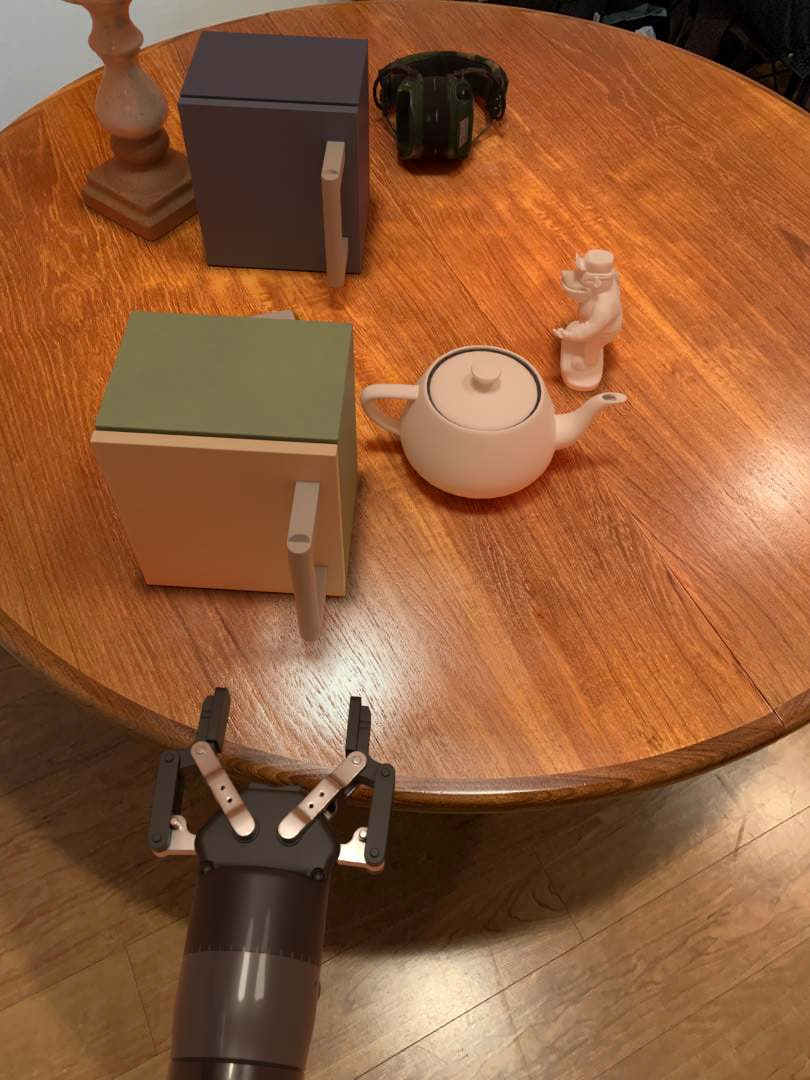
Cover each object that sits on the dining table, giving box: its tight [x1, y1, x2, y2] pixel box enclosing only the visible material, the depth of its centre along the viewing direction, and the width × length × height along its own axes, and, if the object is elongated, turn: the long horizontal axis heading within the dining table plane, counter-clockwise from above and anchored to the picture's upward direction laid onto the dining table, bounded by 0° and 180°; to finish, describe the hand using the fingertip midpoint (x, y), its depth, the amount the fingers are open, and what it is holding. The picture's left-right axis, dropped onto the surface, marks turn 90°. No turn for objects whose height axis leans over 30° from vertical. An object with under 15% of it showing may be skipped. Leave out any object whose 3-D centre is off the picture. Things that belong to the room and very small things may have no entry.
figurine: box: [552, 248, 624, 392], centre depth 85 cm, size 9×7×12 cm
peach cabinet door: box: [89, 429, 347, 643], centre depth 66 cm, size 7×16×18 cm, turn 87°
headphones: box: [372, 50, 510, 161], centre depth 108 cm, size 13×13×20 cm
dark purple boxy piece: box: [179, 30, 371, 267], centre depth 93 cm, size 11×16×18 cm
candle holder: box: [61, 0, 198, 242], centre depth 93 cm, size 11×11×24 cm
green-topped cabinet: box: [93, 310, 359, 584], centre depth 71 cm, size 11×16×18 cm
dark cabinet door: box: [176, 96, 362, 289], centre depth 88 cm, size 7×16×18 cm, turn 87°
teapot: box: [359, 344, 628, 499], centre depth 79 cm, size 22×14×11 cm, turn 86°
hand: (289, 696), depth 59 cm, fingers open, 8 cm apart
